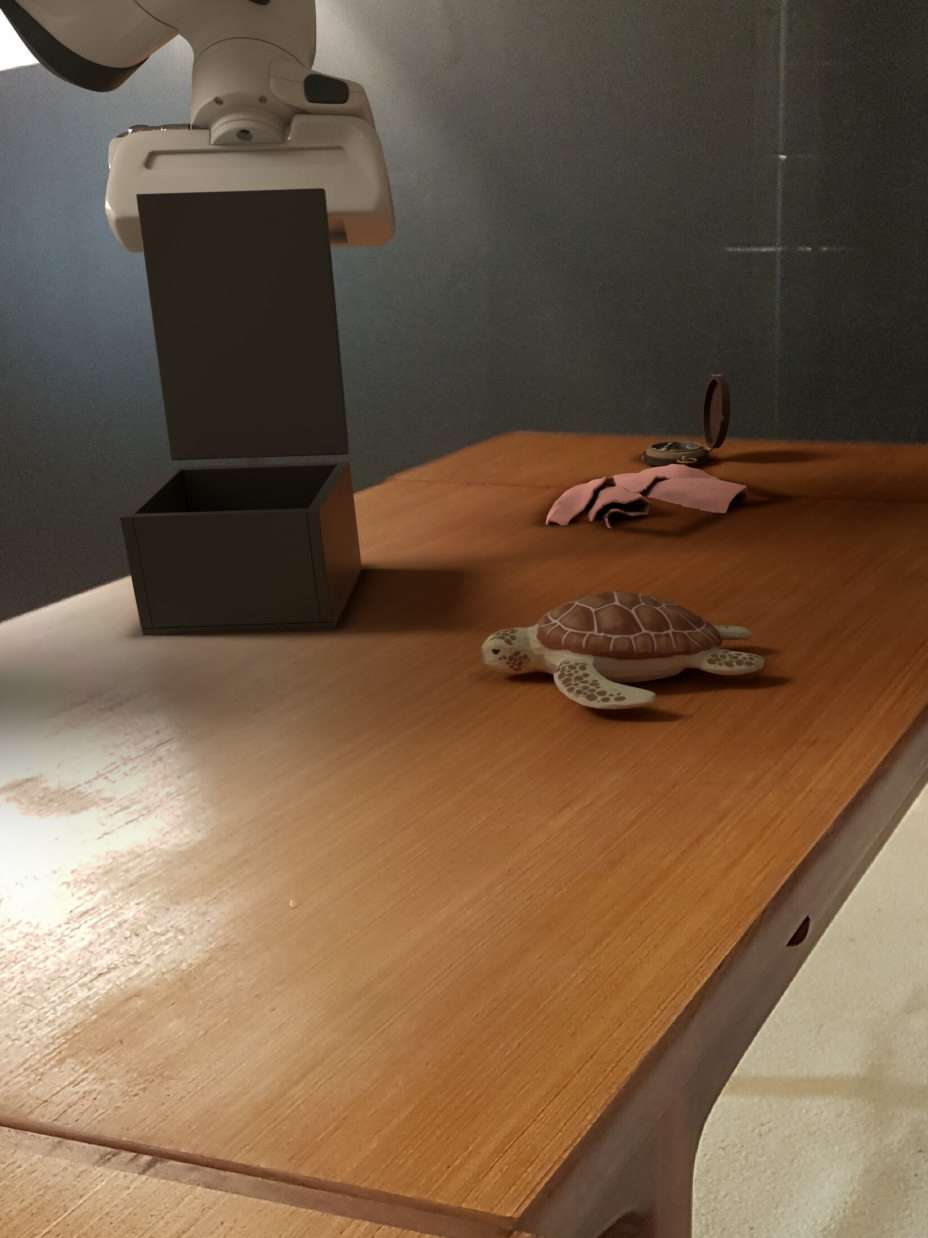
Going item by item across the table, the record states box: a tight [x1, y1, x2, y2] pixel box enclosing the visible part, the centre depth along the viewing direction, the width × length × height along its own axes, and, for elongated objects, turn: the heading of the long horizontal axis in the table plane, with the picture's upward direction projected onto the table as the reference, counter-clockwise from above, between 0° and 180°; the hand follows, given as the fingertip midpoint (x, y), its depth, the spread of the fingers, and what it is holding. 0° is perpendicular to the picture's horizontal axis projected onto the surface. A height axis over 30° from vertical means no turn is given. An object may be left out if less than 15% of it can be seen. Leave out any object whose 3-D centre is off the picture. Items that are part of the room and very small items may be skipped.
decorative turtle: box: [479, 590, 765, 710], centre depth 96 cm, size 18×17×5 cm
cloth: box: [545, 464, 748, 529], centre depth 135 cm, size 20×22×2 cm
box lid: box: [136, 188, 350, 461], centre depth 112 cm, size 16×13×1 cm
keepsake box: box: [119, 461, 363, 636], centre depth 111 cm, size 16×13×8 cm
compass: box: [641, 373, 731, 467], centre depth 148 cm, size 8×8×7 cm
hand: (250, 290), depth 115 cm, fingers closed
